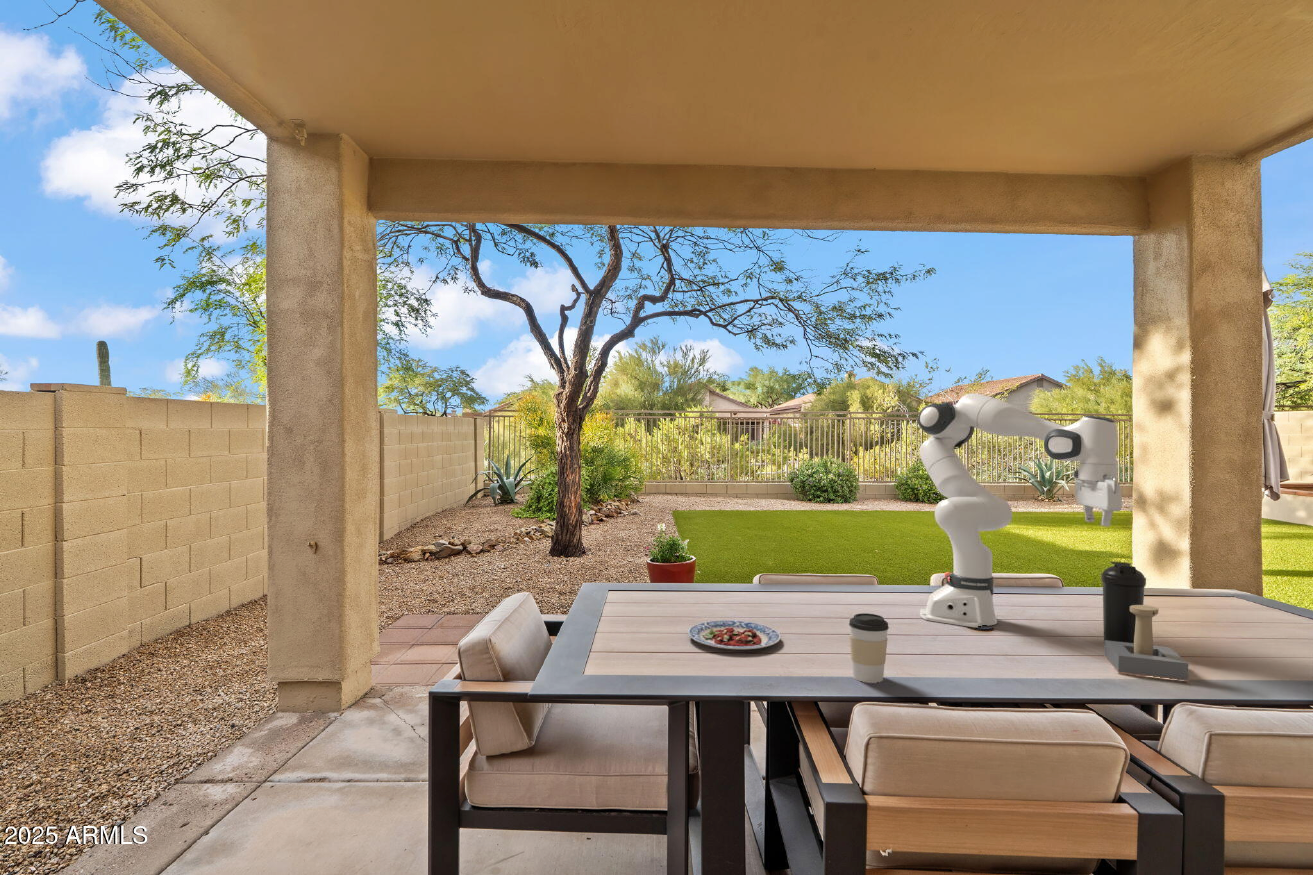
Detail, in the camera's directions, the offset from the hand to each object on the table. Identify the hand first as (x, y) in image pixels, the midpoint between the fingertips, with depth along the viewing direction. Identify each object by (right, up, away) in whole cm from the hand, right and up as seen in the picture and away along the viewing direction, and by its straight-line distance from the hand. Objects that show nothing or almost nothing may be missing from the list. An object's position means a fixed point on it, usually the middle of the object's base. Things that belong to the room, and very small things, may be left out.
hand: (1097, 523), depth 183 cm
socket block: (0, -34, -17) cm, 38 cm away
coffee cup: (-72, -34, -25) cm, 83 cm away
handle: (0, -34, -17) cm, 38 cm away
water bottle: (+7, -34, 0) cm, 35 cm away
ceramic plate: (-101, -34, +2) cm, 106 cm away
